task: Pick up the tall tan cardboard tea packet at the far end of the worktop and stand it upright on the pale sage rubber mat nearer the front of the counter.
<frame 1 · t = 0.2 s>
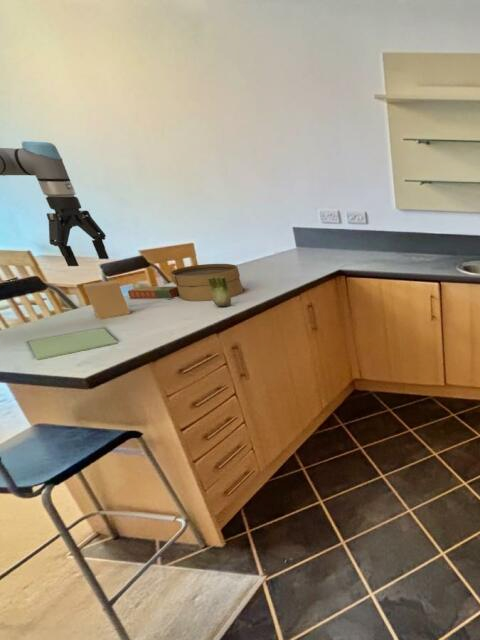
hand: (89, 262, 145), 21 cm above the counter, tool pointing down, fingers open, 13 cm apart
mat: (73, 343, 132), on the counter
packet: (113, 315, 159), on the counter
fennel bulb: (224, 306, 172), on the counter
steamer basket: (212, 294, 188), on the counter
carton: (157, 298, 181), on the counter
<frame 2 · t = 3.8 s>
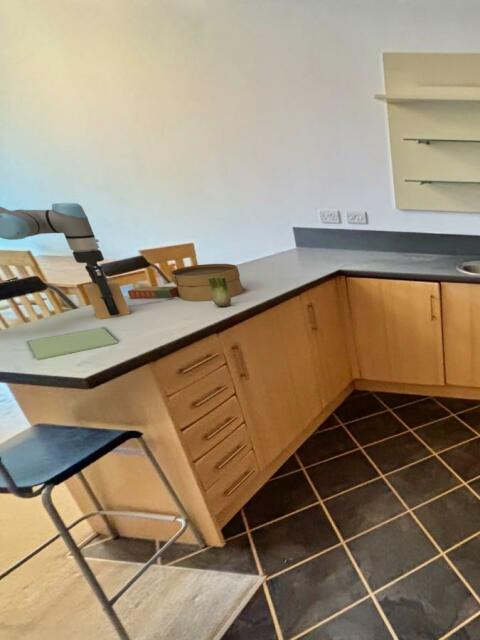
hand: (112, 312, 158), 1 cm above the counter, tool pointing down, fingers closed on packet, 6 cm apart
packet: (113, 315, 159), on the counter, touching gripper
everything else where it was.
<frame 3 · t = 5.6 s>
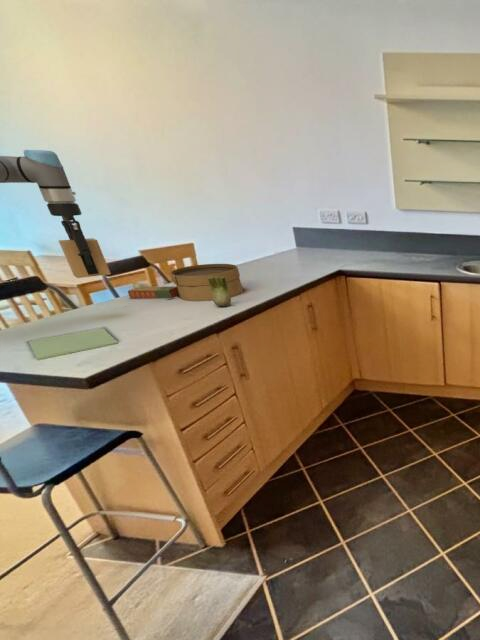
hand: (91, 272, 149), 17 cm above the counter, tool pointing down, fingers closed on packet, 6 cm apart
packet: (92, 275, 149), point 16 cm above the counter, touching gripper
everything else where it was.
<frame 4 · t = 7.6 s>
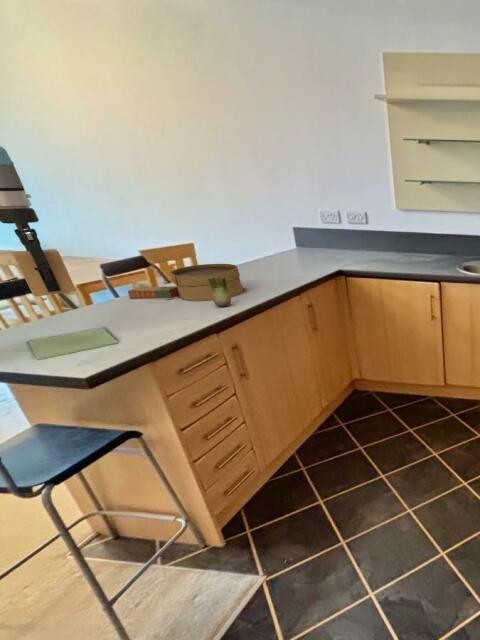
hand: (53, 289, 127), 17 cm above the counter, tool pointing down, fingers closed on packet, 6 cm apart
packet: (54, 292, 127), point 16 cm above the counter, touching gripper
everything else where it was.
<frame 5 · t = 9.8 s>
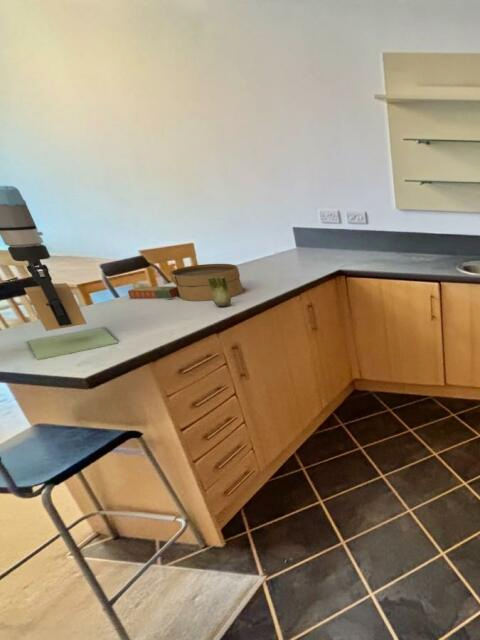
hand: (63, 322, 129), 7 cm above the counter, tool pointing down, fingers closed on packet, 6 cm apart
packet: (65, 325, 129), point 6 cm above the counter, touching gripper
everything else where it was.
when the fingers open (1 cm above the counter, at t = 11.5 s): packet stays where it is, resting on mat.
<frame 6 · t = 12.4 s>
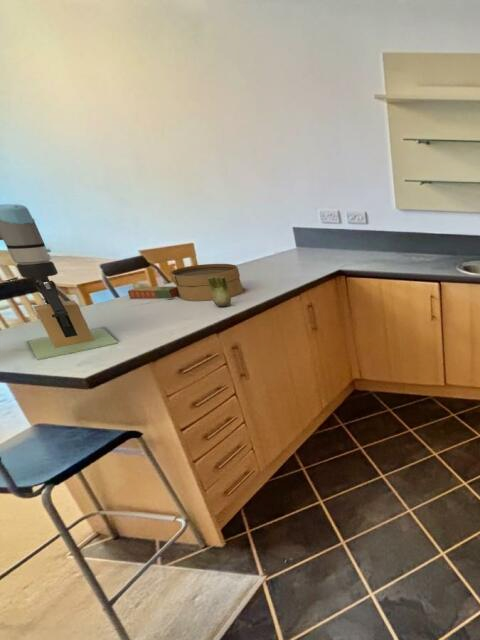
hand: (67, 331, 130), 4 cm above the counter, tool pointing down, fingers open, 13 cm apart
packet: (73, 341, 132), point 1 cm above the counter, touching mat
everything else where it was.
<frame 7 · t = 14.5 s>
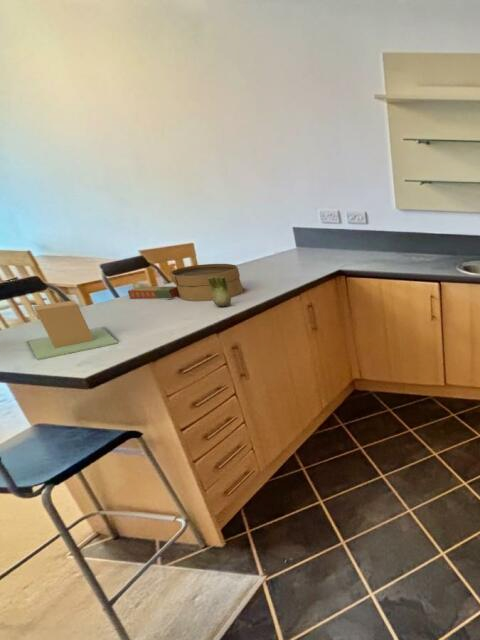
nothing on the counter moved.
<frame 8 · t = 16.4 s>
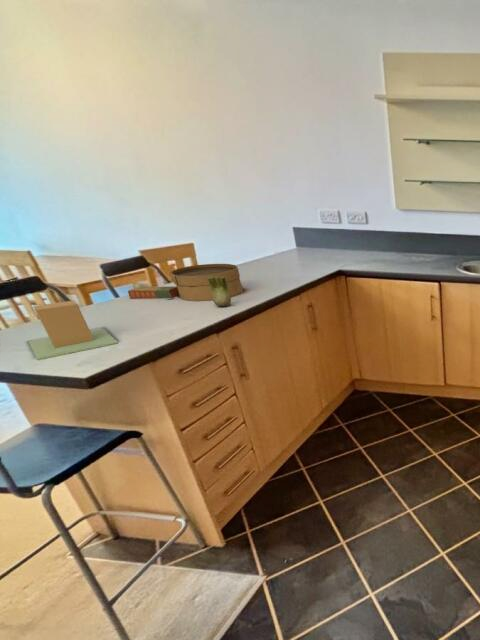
nothing on the counter moved.
at the end: packet inside the target area on the mat (0.1 cm from its centre), point 0.6 cm above the mat's base; packet tilted 0°; the gripper is holding nothing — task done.
